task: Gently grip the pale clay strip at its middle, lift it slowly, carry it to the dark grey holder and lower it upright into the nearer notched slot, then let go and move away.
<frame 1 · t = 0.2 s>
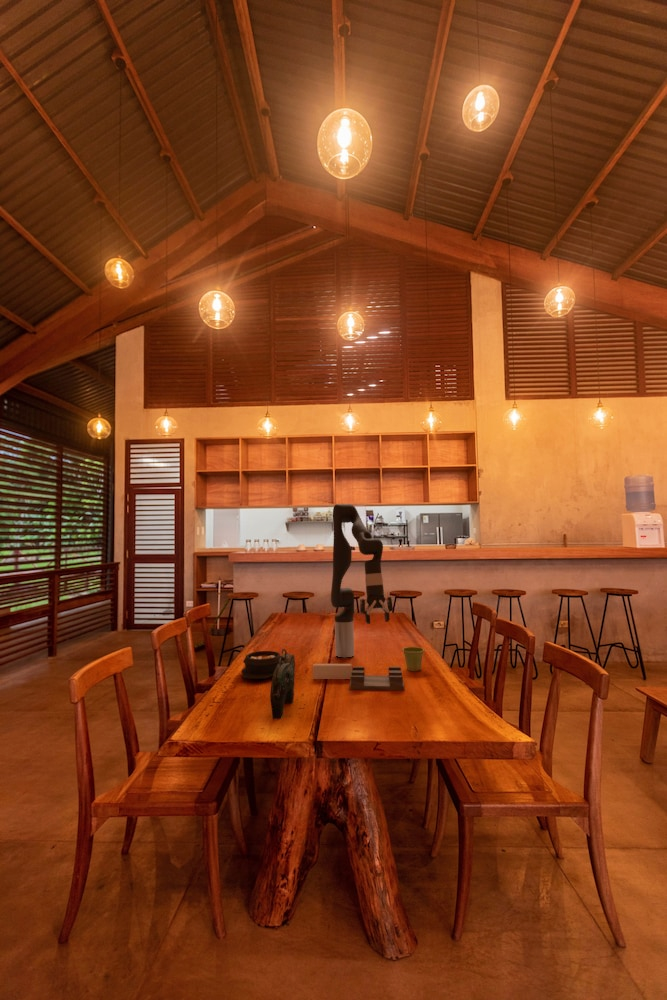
hand: (377, 622, 202), 22 cm above the table, tool pointing down, fingers open, 8 cm apart
dark grey holder: (376, 684, 190), on the table
clay strip: (332, 679, 198), on the table
casserole: (263, 674, 207), on the table
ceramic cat: (284, 709, 166), on the table
plant pot: (413, 669, 209), on the table
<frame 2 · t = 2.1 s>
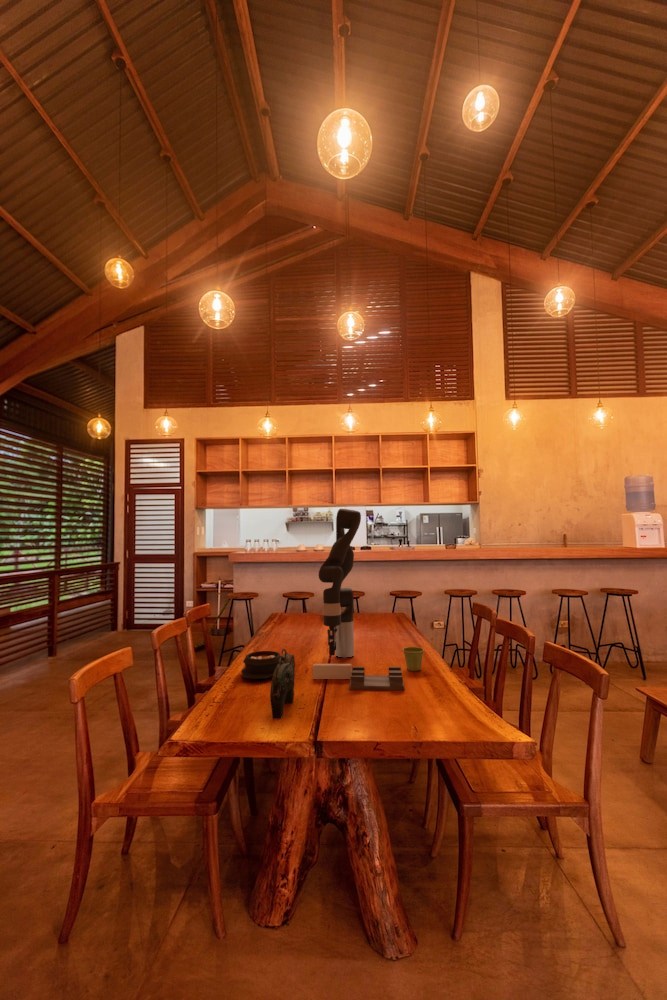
hand: (332, 652, 199), 11 cm above the table, tool pointing down, fingers open, 8 cm apart
nothing on the table moved.
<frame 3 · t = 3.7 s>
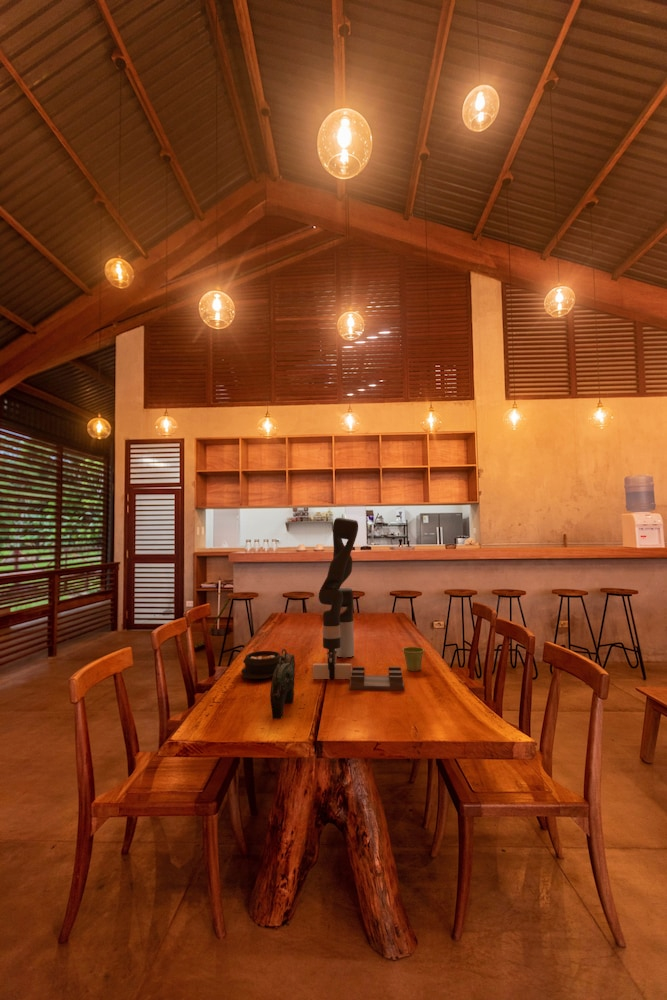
hand: (332, 677, 198), 0 cm above the table, tool pointing down, fingers closed on clay strip, 2 cm apart
clay strip: (332, 679, 198), on the table, touching gripper
everything else where it was.
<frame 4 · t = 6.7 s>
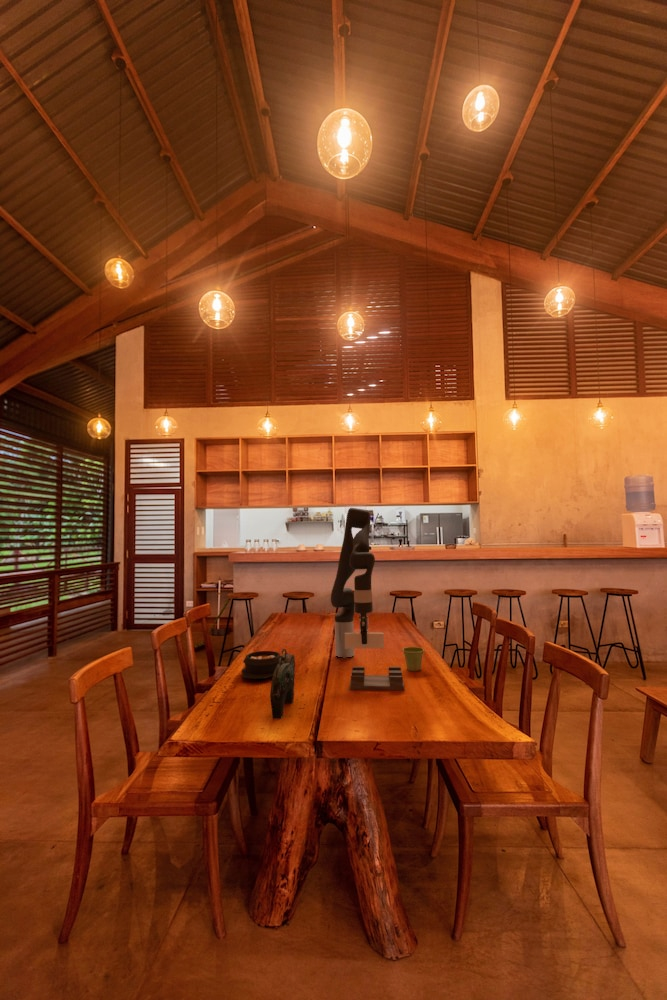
hand: (364, 642, 195), 15 cm above the table, tool pointing down, fingers closed on clay strip, 2 cm apart
clay strip: (364, 647, 195), point 13 cm above the table, touching gripper
everything else where it was.
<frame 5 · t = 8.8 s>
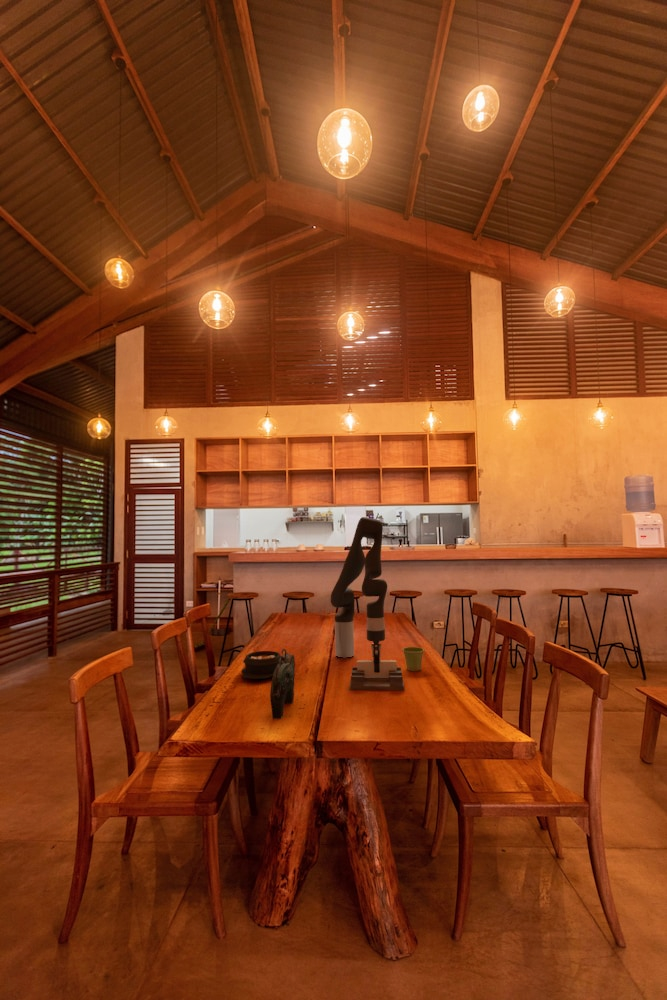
hand: (376, 671, 194), 4 cm above the table, tool pointing down, fingers closed on clay strip, 2 cm apart
clay strip: (377, 676, 194), point 2 cm above the table, touching gripper
everything else where it was.
when the fingers open (3 cm above the table, at t = 9.8 s): clay strip stays where it is, resting on dark grey holder.
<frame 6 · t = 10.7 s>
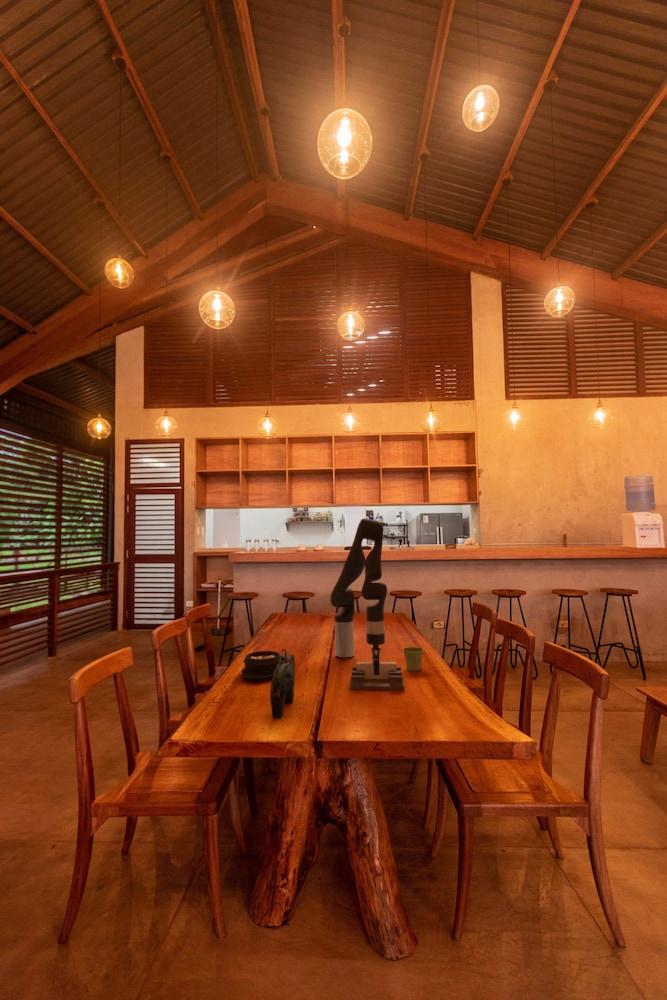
hand: (376, 671, 194), 4 cm above the table, tool pointing down, fingers open, 8 cm apart
clay strip: (376, 677, 194), point 1 cm above the table, touching dark grey holder
everything else where it was.
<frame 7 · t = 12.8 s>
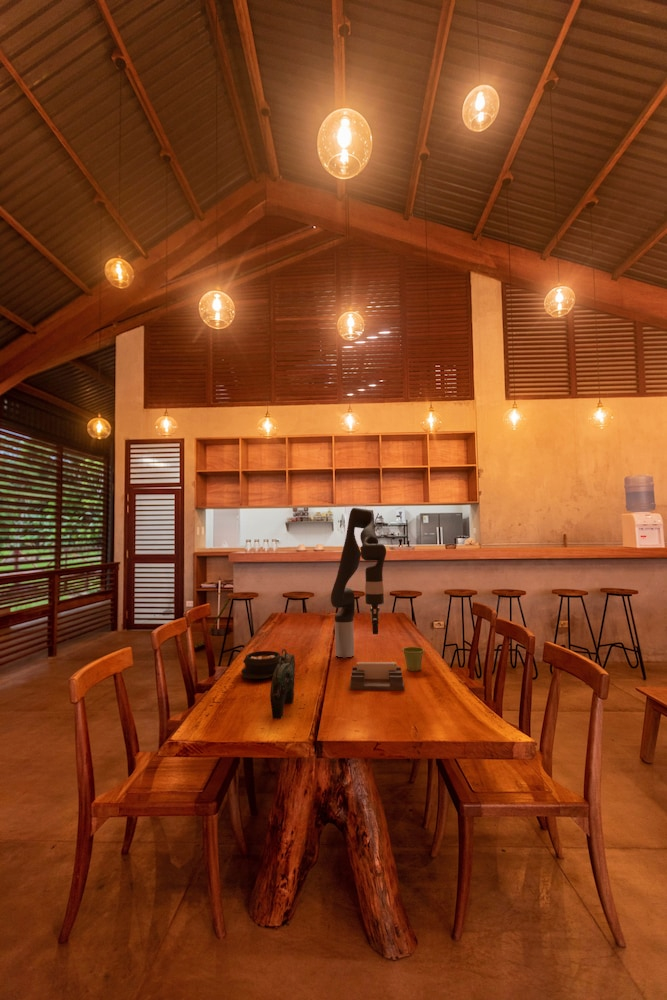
hand: (375, 631, 195), 20 cm above the table, tool pointing down, fingers open, 8 cm apart
nothing on the table moved.
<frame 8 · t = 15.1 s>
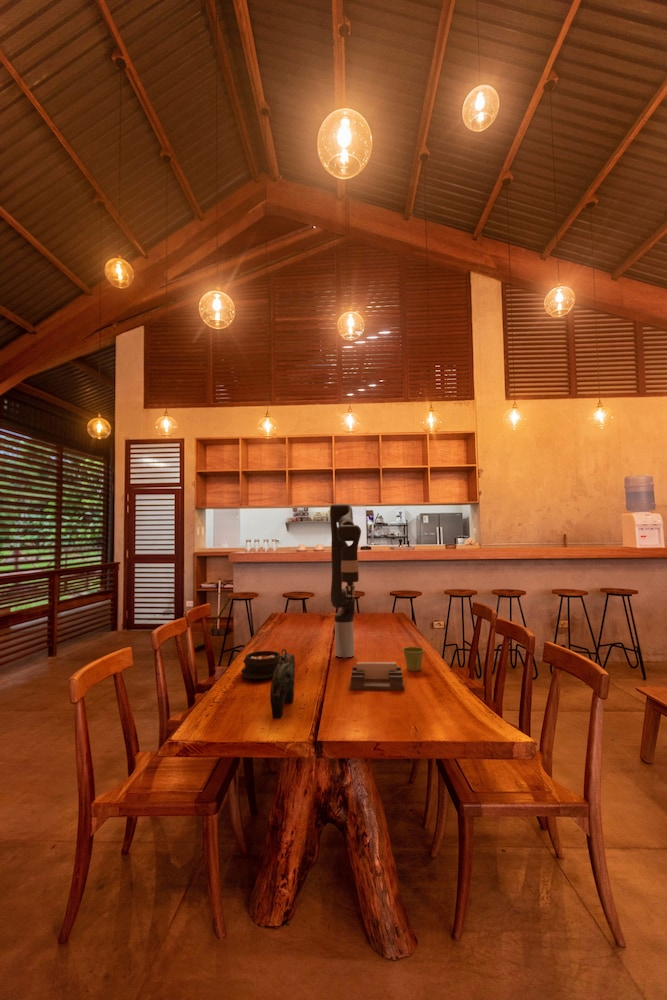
hand: (350, 608, 206), 28 cm above the table, tool pointing down, fingers open, 8 cm apart
nothing on the table moved.
at the end: clay strip 0.1 cm from the target spot on the dark grey holder, point 1.5 cm above the dark grey holder's base; clay strip tilted 0°; the gripper is holding nothing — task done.
